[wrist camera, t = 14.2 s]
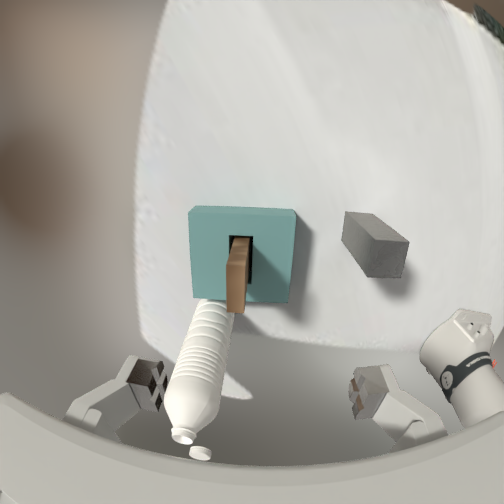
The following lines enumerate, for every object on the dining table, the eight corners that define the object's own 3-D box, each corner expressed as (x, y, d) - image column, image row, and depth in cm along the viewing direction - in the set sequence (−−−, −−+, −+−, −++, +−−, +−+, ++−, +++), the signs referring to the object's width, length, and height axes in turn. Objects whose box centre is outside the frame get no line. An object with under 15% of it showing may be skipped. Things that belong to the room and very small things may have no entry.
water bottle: (191, 299, 45) (140, 424, 21) (227, 290, 44) (195, 425, 20) (210, 337, 48) (180, 459, 25) (244, 331, 47) (230, 460, 24)
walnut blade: (250, 230, 40) (244, 266, 28) (249, 267, 42) (243, 313, 31) (236, 230, 40) (225, 265, 29) (236, 267, 42) (226, 312, 31)
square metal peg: (372, 213, 38) (409, 242, 26) (368, 242, 39) (400, 278, 28) (345, 211, 38) (375, 239, 27) (341, 240, 39) (367, 277, 28)
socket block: (293, 209, 38) (296, 216, 34) (285, 289, 43) (287, 303, 39) (195, 205, 38) (188, 212, 35) (199, 284, 43) (193, 297, 40)
